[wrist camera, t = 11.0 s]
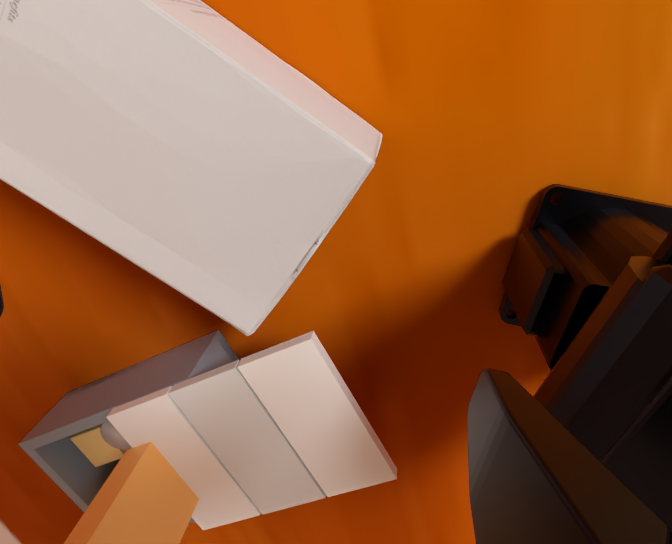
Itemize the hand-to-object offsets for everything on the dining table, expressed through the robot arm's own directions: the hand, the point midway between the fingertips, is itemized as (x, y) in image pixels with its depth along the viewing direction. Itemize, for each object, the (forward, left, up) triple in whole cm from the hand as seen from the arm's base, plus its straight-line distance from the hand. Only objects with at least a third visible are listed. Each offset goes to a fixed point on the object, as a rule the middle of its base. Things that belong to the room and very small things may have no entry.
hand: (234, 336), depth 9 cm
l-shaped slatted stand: (+1, +12, -9) cm, 15 cm away
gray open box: (+6, +16, -13) cm, 21 cm away
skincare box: (+13, -5, -10) cm, 17 cm away
